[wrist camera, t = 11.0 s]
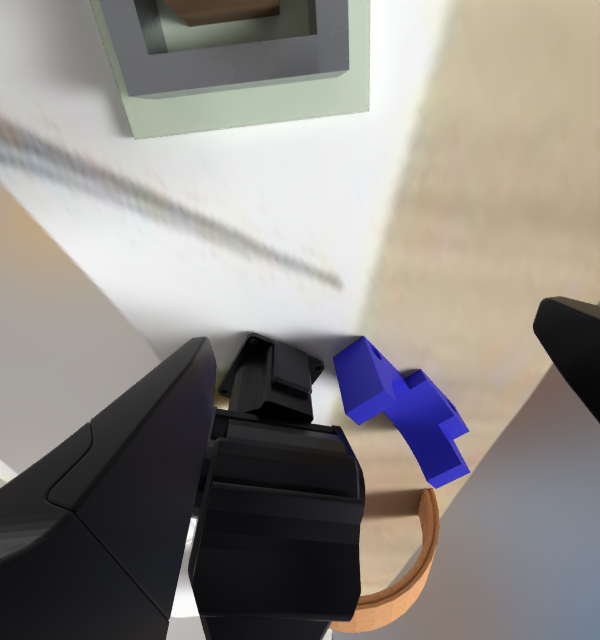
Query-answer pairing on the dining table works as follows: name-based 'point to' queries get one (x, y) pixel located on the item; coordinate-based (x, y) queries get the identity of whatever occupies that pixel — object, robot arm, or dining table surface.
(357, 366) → the cable clip
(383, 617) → the arch
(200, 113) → the base plate
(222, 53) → the steel collar
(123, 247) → the dining table surface
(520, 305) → the dining table surface
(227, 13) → the walnut post
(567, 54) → the dining table surface
